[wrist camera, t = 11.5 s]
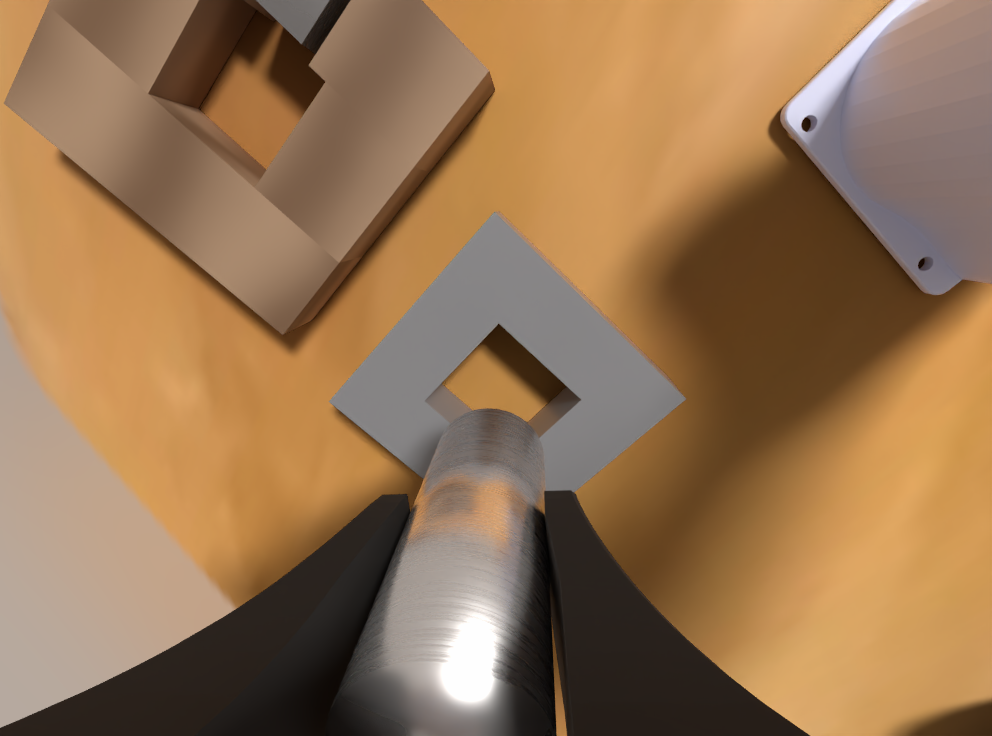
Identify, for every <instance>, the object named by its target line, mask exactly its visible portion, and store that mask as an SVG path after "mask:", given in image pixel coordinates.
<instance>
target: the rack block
mask: <svg viewBox="0 0 992 736" xmlns="http://www.w3.org/2000/svg"><path fill="white" fill-rule="evenodd" d="M498 324H500V325H501V326H502V327H503V328H504V329H505V330H506V331H508V332H509V333H510V334H511V335H512V336H513V337H514V338H515V339H516V340H517V341H518V342H519V343H521V344H522V345H523V346H524V347H525V348H526V349H527V350H528V351H529V352H530V353H531V354H532V355H533V356H535V357H536V358H537V359H538V360H539V361H540V362H541V363H542V364H543V365H544V366H545V367H546V368H548V369H549V370H550V371H551V372H552V373H553V374H554V375H555V376H556V377H557V378H558V379H559V380H561V381H562V382H563V383H564V384H565V385H566V386H567V387H565V388H564V389H563V390H562V391H561V392H560V393H559V394H558V395H557V396H556V397H555V398H554V399H553V400H551V401H550V402H549V403H548V404H547V405H546V406H545V407H544V408H543V409H542V410H541V411H540V412H539V413H537V414H536V415H535V416H534V417H533V418H532V419H531V420H530V421H529V422H528V424H529V425H530V426H531V427H532V428H533V429H534V431H535V432H536V434H537V435H538V437H539V439H540V441H541V444H542V447H543V451H544V466H545V489H546V491H558V490H571V491H572V492H575V491H576V490H577V489H579V488H580V487H581V486H582V485H583V484H585V483H586V482H587V481H588V480H589V479H591V478H592V477H593V476H594V475H595V474H597V473H598V472H599V471H600V470H602V469H603V468H604V467H605V466H606V465H608V464H609V463H610V462H611V461H612V460H614V459H615V458H616V457H617V456H618V455H620V454H621V453H622V452H623V451H624V450H626V449H627V448H628V447H629V446H630V445H632V444H633V443H634V442H635V441H636V440H638V439H639V438H640V437H641V436H642V435H644V434H645V433H646V432H647V431H648V430H650V429H651V428H652V427H653V426H654V425H656V424H657V423H658V422H659V421H660V420H662V419H663V418H664V417H665V416H666V415H668V414H669V413H670V412H671V411H672V410H674V409H675V408H676V407H677V406H678V405H680V404H681V403H682V402H683V401H684V400H686V398H685V397H684V396H683V394H682V393H681V392H680V391H679V390H678V388H677V387H676V386H675V385H674V383H673V382H672V381H671V380H670V378H669V377H668V376H667V375H666V374H665V373H664V372H663V371H662V370H661V369H660V368H659V367H658V366H657V365H656V364H655V363H654V362H653V361H652V360H651V359H649V358H648V357H647V356H646V355H645V354H644V353H643V352H642V351H641V350H640V349H639V348H638V347H637V346H636V345H635V344H634V343H633V342H632V341H631V340H630V339H629V338H628V337H627V336H626V335H625V334H624V333H623V332H622V331H621V330H620V329H619V328H618V327H617V326H616V325H615V324H614V323H613V322H612V321H611V320H610V319H609V318H608V317H607V316H606V315H605V314H604V313H603V312H602V311H601V310H599V309H598V308H597V307H596V306H595V305H594V304H593V303H592V302H591V301H590V300H589V299H588V298H587V297H586V296H585V295H584V294H583V293H582V292H581V291H580V290H579V289H578V288H577V287H576V286H575V285H574V284H573V283H572V282H571V281H570V280H569V279H568V278H567V277H566V276H565V275H564V274H563V273H562V272H561V271H560V270H559V269H558V268H557V267H556V266H555V265H554V264H553V263H552V262H550V261H549V260H548V259H547V258H546V257H545V256H544V255H543V254H542V253H541V252H540V251H539V250H538V249H537V248H536V247H535V246H534V245H533V244H532V243H531V242H530V241H529V240H528V239H527V238H526V237H525V236H524V235H523V234H522V233H521V232H520V231H519V230H518V229H517V228H516V227H515V226H514V225H513V224H512V223H511V222H510V221H509V220H508V219H507V218H506V217H505V216H504V215H503V214H501V213H500V212H494V213H493V214H492V215H491V216H490V218H489V219H488V220H487V221H486V222H485V223H484V224H483V226H482V227H481V228H480V229H479V230H478V231H477V232H476V234H475V235H474V236H473V237H472V238H471V239H470V240H469V242H468V243H467V244H466V245H465V246H464V247H463V248H462V250H461V251H460V252H459V253H458V254H457V255H456V256H455V258H454V259H453V260H452V261H451V262H450V263H449V265H448V266H447V267H446V268H445V269H444V270H443V271H442V273H441V274H440V275H439V276H438V277H437V278H436V279H435V281H434V282H433V283H432V284H431V285H430V286H429V287H428V289H427V290H426V291H425V292H424V293H423V294H422V295H421V297H420V298H419V299H418V300H417V301H416V302H415V303H414V305H413V306H412V307H411V308H410V309H409V310H408V312H407V313H406V314H405V315H404V316H403V317H402V318H401V320H400V321H399V322H398V323H397V324H396V325H395V326H394V328H393V329H392V330H391V331H390V332H389V333H388V334H387V336H386V337H385V338H384V339H383V340H382V341H381V342H380V344H379V345H378V346H377V347H376V348H375V349H374V350H373V352H372V353H371V354H370V355H369V356H368V357H367V359H366V360H365V361H364V362H363V363H362V364H361V365H360V367H359V368H358V369H357V370H356V371H355V372H354V373H353V375H352V376H351V377H350V378H349V379H348V380H347V381H346V383H345V384H344V385H343V386H342V387H341V388H340V389H339V391H338V392H337V393H336V394H335V395H334V396H333V397H332V399H331V400H330V401H329V402H330V403H331V404H332V405H334V406H335V407H336V408H337V409H338V410H340V411H341V412H342V413H343V414H345V415H346V416H347V417H348V418H349V419H351V420H352V421H353V422H354V423H356V424H357V425H358V426H359V427H360V428H362V429H363V430H364V431H365V432H367V433H368V434H369V435H370V436H371V437H373V438H374V439H375V440H376V441H378V442H379V443H380V444H381V445H382V446H384V447H385V448H386V449H387V450H389V451H390V452H391V453H392V454H393V455H395V456H396V457H397V458H398V459H400V460H401V461H402V462H403V463H404V464H406V465H407V466H408V467H409V468H411V469H412V470H413V471H414V472H415V473H417V474H418V475H419V476H420V477H422V478H423V479H424V478H425V475H426V473H427V470H428V468H429V466H430V463H431V461H432V458H433V456H434V453H435V451H436V448H437V446H438V443H439V441H440V438H441V436H442V434H443V432H444V431H445V429H446V428H447V427H448V425H449V424H450V423H451V422H452V421H454V420H455V419H456V418H458V417H459V416H461V415H463V414H465V413H467V412H470V411H472V410H471V409H470V408H469V407H468V406H466V405H465V404H464V403H463V402H462V401H461V400H460V399H458V398H457V397H456V396H455V395H454V394H453V393H452V392H450V391H449V390H448V389H447V388H446V387H445V386H443V385H442V384H441V383H442V382H443V381H444V380H445V379H446V378H447V377H448V376H449V375H450V374H451V373H452V372H453V371H454V370H455V369H456V367H457V366H458V365H459V364H460V363H461V362H462V361H463V360H464V359H465V358H466V357H467V356H468V355H469V354H470V353H471V352H472V351H473V350H474V349H475V348H476V347H477V346H478V345H479V344H480V343H481V341H482V340H483V339H484V338H485V337H486V336H487V335H488V334H489V333H490V332H491V331H492V330H493V329H494V328H495V327H496V326H497V325H498Z"/></svg>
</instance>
